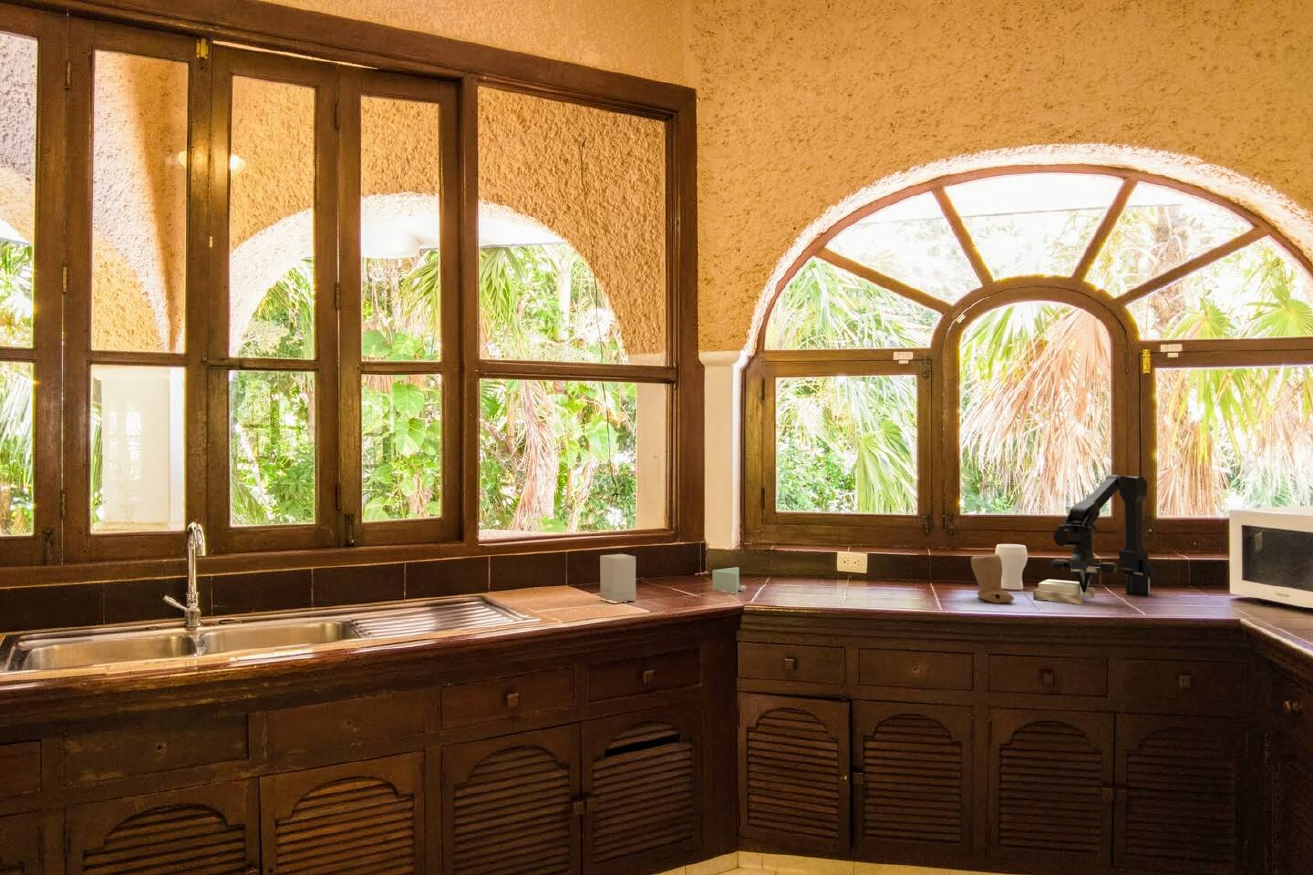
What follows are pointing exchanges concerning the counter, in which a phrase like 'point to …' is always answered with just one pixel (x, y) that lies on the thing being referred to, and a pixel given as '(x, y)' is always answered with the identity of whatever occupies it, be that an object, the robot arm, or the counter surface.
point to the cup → (1012, 564)
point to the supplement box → (618, 577)
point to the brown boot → (990, 578)
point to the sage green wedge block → (727, 580)
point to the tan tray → (1062, 596)
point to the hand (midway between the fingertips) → (1084, 592)
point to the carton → (1060, 586)
